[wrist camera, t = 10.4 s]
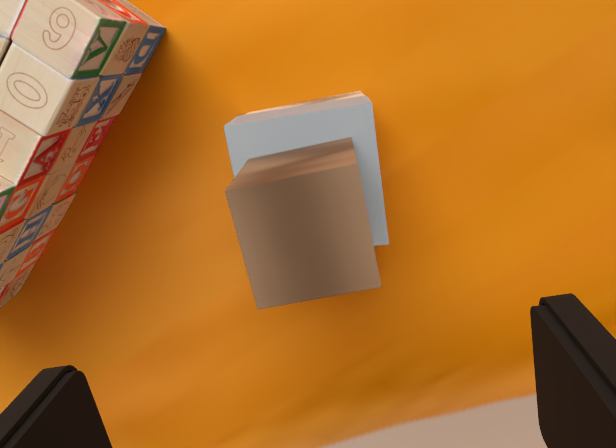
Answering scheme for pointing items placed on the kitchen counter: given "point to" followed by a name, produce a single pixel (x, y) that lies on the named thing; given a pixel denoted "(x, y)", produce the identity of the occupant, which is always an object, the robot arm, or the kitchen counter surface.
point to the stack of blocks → (58, 110)
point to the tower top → (315, 130)
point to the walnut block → (303, 224)
